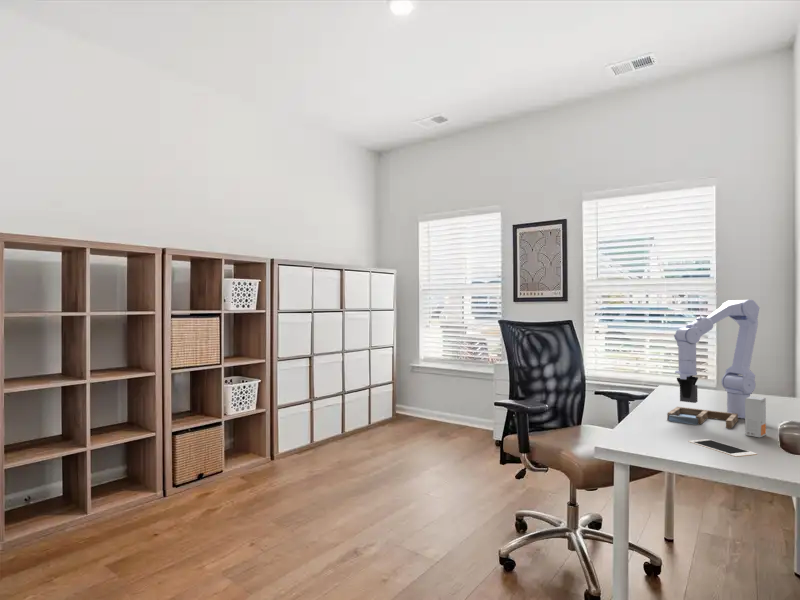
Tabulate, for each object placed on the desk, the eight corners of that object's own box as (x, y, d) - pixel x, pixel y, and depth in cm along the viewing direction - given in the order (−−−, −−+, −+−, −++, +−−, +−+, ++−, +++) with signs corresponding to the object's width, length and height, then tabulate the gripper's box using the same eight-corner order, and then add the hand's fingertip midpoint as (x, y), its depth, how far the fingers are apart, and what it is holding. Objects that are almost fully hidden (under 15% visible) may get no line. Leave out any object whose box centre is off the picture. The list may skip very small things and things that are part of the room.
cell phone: (735, 458, 134) (735, 455, 134) (687, 442, 150) (687, 440, 150) (757, 455, 136) (757, 453, 136) (708, 440, 152) (708, 438, 152)
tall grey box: (682, 399, 183) (682, 383, 183) (697, 401, 180) (697, 385, 180) (680, 401, 180) (679, 384, 181) (695, 402, 177) (695, 386, 177)
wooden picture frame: (677, 413, 190) (677, 406, 190) (737, 420, 177) (737, 413, 177) (666, 420, 177) (666, 413, 177) (730, 429, 164) (730, 421, 164)
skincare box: (761, 438, 153) (760, 399, 154) (745, 435, 157) (744, 398, 157) (766, 434, 157) (766, 397, 157) (750, 432, 161) (750, 395, 161)
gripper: (679, 357, 189) (680, 393, 188) (670, 360, 178) (670, 398, 178) (700, 359, 184) (701, 395, 184) (692, 362, 173) (693, 400, 173)
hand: (687, 396), depth 180 cm, fingers closed on tall grey box, 3 cm apart
